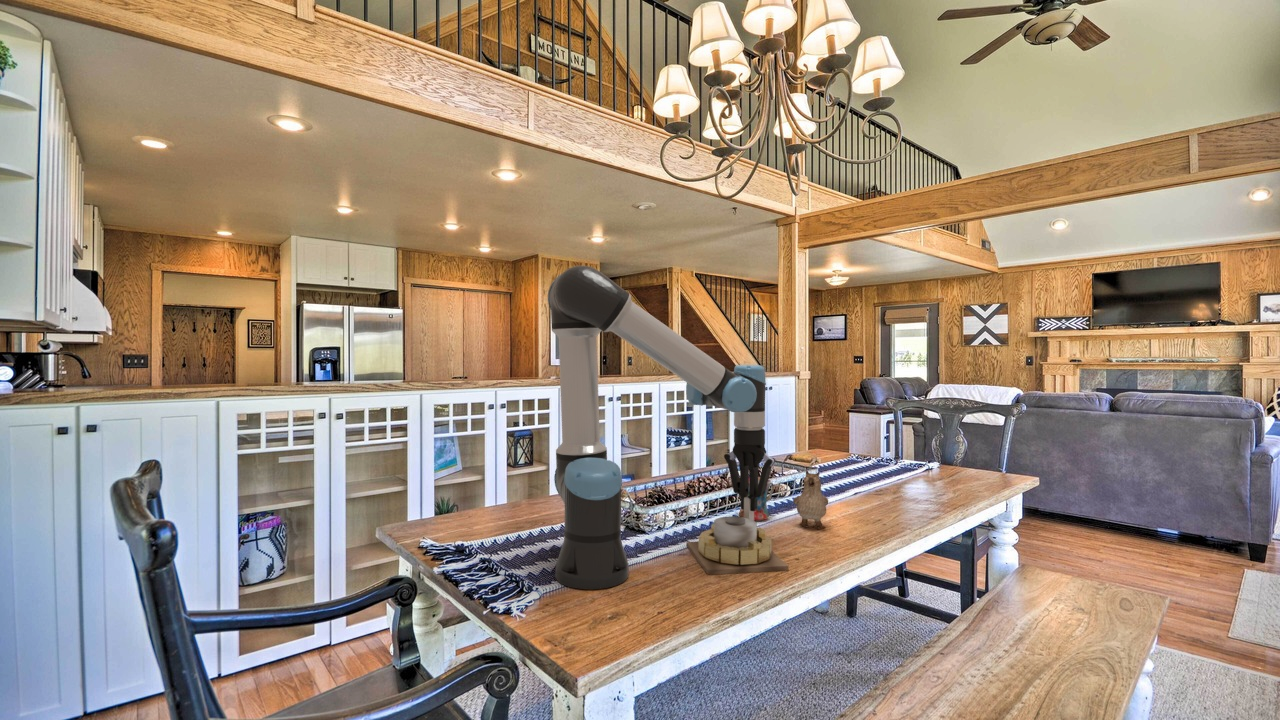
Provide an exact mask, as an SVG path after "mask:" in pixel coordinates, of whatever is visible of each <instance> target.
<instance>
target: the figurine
mask: <svg viewBox="0 0 1280 720" xmlns="http://www.w3.org/2000/svg"><path fill="white" fill-rule="evenodd" d="M792 504H793V505H796V511H797V514H798V515H799V516H800V517H801V522H800V523H799V525H798V526H803V528H807V527H810V524H809V523H808V520H813V521H814V525H812V528H815V529H818V530H821V529H825V528H826V527H825V526H824V525H823V523H822V518H824V517H825V515H826V514H827V505H828V504H829V499H828V497H827V496H824V495H823V493H822V482H821V478H820V472H816V473H810V472H809V471H808V470H806V471H805V477H804V478H803V490H802V493H801V494H800V495H798V496H795V497H794V498H793V501H792Z"/></svg>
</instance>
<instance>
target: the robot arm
mask: <svg viewBox="0 0 1280 720" xmlns="http://www.w3.org/2000/svg"><path fill="white" fill-rule="evenodd" d="M547 294H548V295H547V302H548V303H547V304H548V306H549V309H550V319H551V320H550V323H551V332H552V333H553V334H554V335H556V336H557V338H558V355H559V360H558V361H559V381H560V382H559V385H560V387H559V388H560V410H561V413H560V414H561V415H560V416H561V441H562V442H561V444H560V445H559V446H558V447H557V448H556V449H555V460H556V468H555V472H554V477H553V478H554V479H553V481H554V486H555V489H556V491H557V493H558V495H559V497H560V498H561V501H563V504H564V538H563V542H562V545H561V548H560V551H559V554H558V557H557V560H556V562H555V580H557V582H558V583H559V584H561V585H564V586H566V587H570V588H573V589H578V590H579V589H580V590H601V589H608V588H609V589H610V588H611V587H616V586H618V585H621V584H623V583H624V582H625V581H626V580H627V579H629V566H630V565H629V562H628V558H627V555H626V551H625V548H624V546H623V541H622V539H621V536H622V535H621V527H622V525H621V523H622V519H621V518H622V517H621V516H622V486H623V478H622V470H621V468H620V466H619V465H618V464H617V463H616V462H615V461H612V460H609V459H608V448H607V447H606V445H605V444H603V443H602V442H601V440H600V439H601V435H600V433H601V432H600V412H599V411H600V409H599V407H600V406H599V401H600V400H599V399H600V398H599V375H598V370H599V369H598V346H597V345H598V343H597V337H598V335H599V334H600V333H601V332H604V333H608V332H612V333H613V334H615V336H618V337H619V338H621V339H622V340H624V341H625V342H626V343H628V344H629V345H631V346H632V347H634V348H635V349H637V350H638V351H640V352H641V353H642V354H644V355H645V356H647V357H649V358H650V359H652V360H653V361H655V362H656V363H657V364H659V365H660V366H662V367H663V368H665V369H666V370H667V371H669V372H671V374H674V375H675V376H677V377H678V378H679V379H681V380H682V381H684V382H685V383H686V386H685V390H686V392H685V393H686V394H685V395H686V398H687V400H688V402H689V404H690V405H692V406H701V407H702V406H712V407H716V408H721V409H724V410H727V411H729V412H732V413H733V426H734V427H735V428H734V429H733V443H734V445H733V447H732V450H731V451H730V452H728V453H725V454H723V457H724V459H725V462H726V463H727V467H728V471H729V476H730V481H731V485H732V489H733V492H734V493H735V494H738V495H739V496H740V509H743V510H744V518H747V519H751V520H753V521H755V520H754V511H756V510H757V497H760V496H762V495H764V494H765V491H766V487H767V483H768V479H769V478H770V474H771V471H772V467H773V466H774V464H775V463H776V458H774V457H771V456H769V455H768V454H767V450H766V447H765V444H766V430H765V429H764V428H765V426H766V386H767V382H766V381H767V379H766V370H765V368H764V366H763V365H759V364H741V365H740V364H739V365H735V366H734V369H733V372H732V371H731V370H729V369H728V368H727V367H726V366H724V365H722V364H721V363H719V361H717V360H715V359H714V358H713V357H711V356H710V355H708V354H707V353H705V352H704V351H703V350H701V349H700V348H698V347H697V346H696V345H694V344H693V343H692V342H690V341H689V340H687V339H686V338H684V337H683V336H682V335H680V334H679V333H677V332H676V331H674V329H672V328H670V327H668V325H666V324H664V323H663V322H661V320H659V319H658V318H656V317H654V316H653V315H652V314H650V313H649V312H648V311H646V310H645V309H643V308H642V307H641V306H639V305H638V304H637V303H635V302H633V300H632V295H631V293H629V292H628V291H627V290H626V289H624V288H622V287H621V286H620V285H618V284H617V283H616V282H615V281H613V280H612V279H610V278H609V277H608V276H607V275H605V274H604V273H602V272H601V271H600V270H598V269H596V268H595V267H591V266H588V265H582V264H581V265H575V266H572V267H569V268H567V269H565V271H563V272H562V273H561V274H559V275H558V276H557V277H555V279H554V280H553V281H552V283H551V284H550V287H549V290H548V293H547ZM736 459H737V460H736ZM737 461H738V463H737ZM762 461H763V462H762ZM761 463H763V465H762V468H761V472H760V476H759V469H760V464H761ZM758 477H760V480H759V484H758ZM769 480H770V479H769ZM748 494H749V496H748Z"/></svg>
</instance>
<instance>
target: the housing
mask: <svg viewBox="0 0 1280 720" xmlns="http://www.w3.org/2000/svg"><path fill="white" fill-rule="evenodd" d="M713 524H714V538H716V539H715V543H716V544H719V545H722V546H728V547H737V548H742V547H748V542H750V541H757V528H758V523H757V522H756V520H754V521H753V520H751V519H747V518H742V517H739V516H722V517H718V518H716V519H714V521H713ZM685 543H686V544H685V545H686V548H687V549H688V551H689V552H690V553H691V555H692V556H693V557H694V559H695V560H696V562H697V563H698V564H699V565H700V566H701V568H702V570H704V572H705V573H706V575H707V576H709V575H713V576H714V575H726V574H727V575H729V574H730V575H731V574H745V573H746V574H747V573H765V572H766V573H767V572H781V571H782V572H784V571H785V572H786V571H789V565H788V564H787V563H786V562H785V561H784V559H781V558H780V557H779V556H778V555H777V554H776V553H774V552H773V551H772V550H771V556H770V558H769V559H768V560H766V561H763V562H761V563H757V564H745V565H740V564H738V565H736V564H728V563H721V562H717V561H714V560H711V559H708V558H705V557H704V556H703V555H702V554H701V553H700V552H699V550H698V547H699V540H698V541H686V542H685Z"/></svg>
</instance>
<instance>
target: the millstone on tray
mask: <svg viewBox="0 0 1280 720" xmlns="http://www.w3.org/2000/svg"><path fill="white" fill-rule="evenodd" d="M740 509H741V508H740ZM740 509H739V511H740V512H738V517H742V518H744V510H743V509H741V510H740ZM710 525H711V528H709V529H707V530H705V531H702V532H701V533H700V535H699V536H698V541H699V547H698V550H699V552H700V553H701V554H702V555H703V556H704V557H705V558H708V559H711V560H714V561H717V562H721V563H728V564H736V565H738V564H740V565H745V564H757V563H761V562H763V561H766V560H768V559H769V558H770V556H771V551H772V543H773V541H772V540H773V539H772V538H771V537H769V536H768V535H767V534H766V529H765V528H762V527H759V526H758V527H757V541H750V542H748V547H742V548H737V547H728V546H722V545H719V544H716V543H715V539H716V538H714V523H712V524H710Z"/></svg>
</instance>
